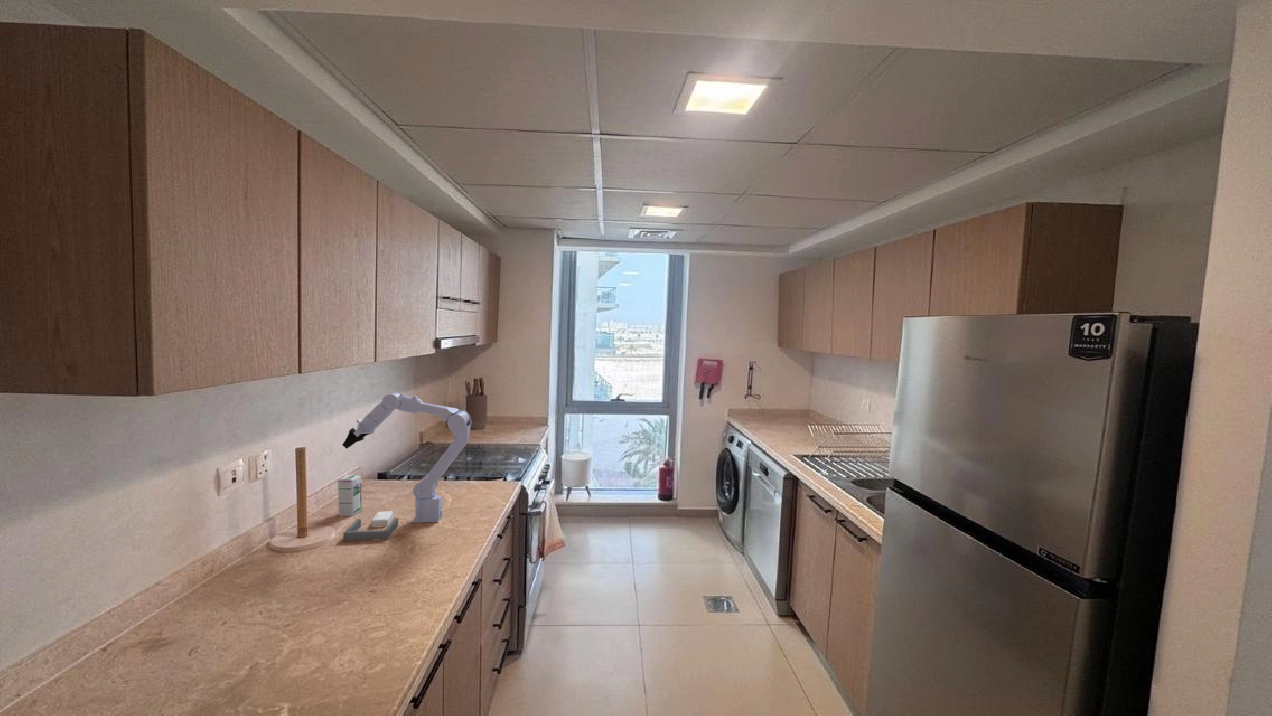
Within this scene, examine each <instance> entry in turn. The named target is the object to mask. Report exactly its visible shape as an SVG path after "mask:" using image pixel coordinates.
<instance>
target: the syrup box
mask: <svg viewBox="0 0 1272 716" xmlns="http://www.w3.org/2000/svg"><path fill="white" fill-rule="evenodd" d="M337 493H338V495H337V497H338V498H337V499H338V501H337V502H338V516H339V517H340V516H342V517H343V516H344V517H353V516H355V515H356V514H359V512H362V507H363V506H362V476H361V475H360V474H347V475H344V476H342V477H341V478H339V479H337Z"/></svg>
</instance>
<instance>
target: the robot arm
mask: <svg viewBox="0 0 1272 716" xmlns="http://www.w3.org/2000/svg"><path fill="white" fill-rule="evenodd" d="M395 410H398V411H402V412H406V413H412V414H418V413H420V412H422V413H426V414H431V415H434V416H438V417H441V419H442V420H443V422H444V423H447V427H448V428H449V431H450V432H451V433H452V436H453V441H451V444H450V445H449V446H448V448H447V449H446V450H445V451H444V453H443V454H442V455H441V456H440V458H439V459H438V460H437V462H436V463H435V464H434V465H433V466H432V468H431V469H430V471H428V473H427V474H426V475H425V476H423V478H421V479H420V481H419V482H417V483H416V484H415V485H414V486H413V488H412V493H413V495H414V497H415V501H414V507H415V510H414V511H415V512H414V514H415V516H414V518H413V519H412V520H411V523H412V524H415V523H416V524H417V523H438V522H439V521H440V519H441V518H442V516H443V515H444V513H443V502H444V501H443V496H442V495H438V494H436V493H437V492H436V489H437V487H438V483H439V481H440V480H441V478H442V476H443V475H444V474H445V472H446V471H447V470H448V468H449V467H450V466H451V465H452V463H453V462H454V461H455V459H456V458H458V455H460V453H461V452H462V450H463V449H464V448H465V446H466V445H467V444H468V443H469V441H470V437H471V427H472V419H471V416H470V414H469V412H468V411H465V410H463V409H462V410H460V409H459V408H456V407H450V406H444V405H438V404H434V403H433V404H432V403H426V402H423V400H422V399H421V398H419V397H418V396H417V395H414V396H408V395H404V393H399V392H391V393H389V394H386V395H385V396H383V397H382V399H381V401H380V402H379V404H377V405H376V406H375V407H374V408H373V409H372V410H371V411H369V412H368V414H366V416H364V418H363V419H361V418H358V419H356V422H357V423H358V424H357V428H356V429H355V428H354V427H352V428H350V429H349V431H348V435H347V437H345V438H346V439H345V440H344V442H343V443H342V446H343V447H344V448H345V449H349V448H350V447H352V446H353V445H355V444H356V443H358V442H361V441H363V440H365V437H367V436H369V435H371V434H374V432H375V430H376V429H377V428H378V427H379V426H380V425H381V424H383V422H384V421H385V420H386V419H387V418H388V417H390V415H392V413H393V412H394V411H395Z"/></svg>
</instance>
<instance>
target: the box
mask: <svg viewBox="0 0 1272 716" xmlns="http://www.w3.org/2000/svg"><path fill="white" fill-rule="evenodd" d="M397 526H398V527H399V517H395V518H394V519H392V520H391V521H390V523H389V524H388V526H387V527H386V528H385V529H378V530H377V529H375V530H373V529H372V530H371V529H370V530H360V529H361V528H360V527H362V519H360V518H357V519H356V520H355V521H354V522H353V523H352V524H351V525H350V526H349V527H347V528H346V529H345V531H344V532H343V533H342V534H343V536H342V537H343V538H342V539H343V542H352V541H351V540H366V541H375V540H374V539H387V540H389V538H390V537H391V536H392V534H393V533H394V532H395V531H396V529H397V528H398V527H397ZM359 528H360V529H359ZM358 529H359V530H358ZM357 530H358V531H357ZM394 530H395V531H394ZM393 531H394V532H393ZM390 535H391V536H390ZM389 536H390V537H389ZM349 540H350V541H349Z"/></svg>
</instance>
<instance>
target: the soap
mask: <svg viewBox="0 0 1272 716" xmlns="http://www.w3.org/2000/svg"><path fill="white" fill-rule="evenodd" d="M393 518H394V511H392V510H387V511H378V512H377V513H376V514H375V515H374V517H373V518H372V519H371V528H378V527H377V526H387V525H388V526H389V524H390V523H391V522H392V521H393ZM388 526H387V527H388Z"/></svg>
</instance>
